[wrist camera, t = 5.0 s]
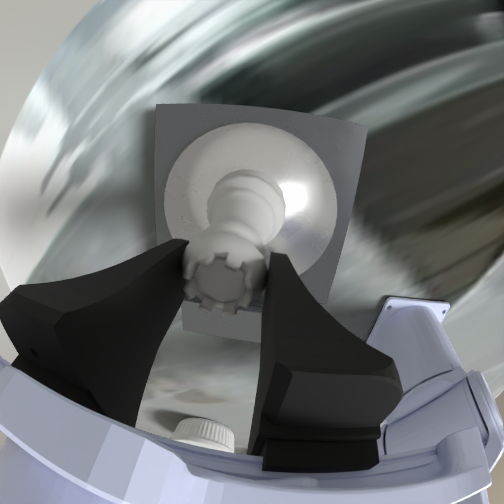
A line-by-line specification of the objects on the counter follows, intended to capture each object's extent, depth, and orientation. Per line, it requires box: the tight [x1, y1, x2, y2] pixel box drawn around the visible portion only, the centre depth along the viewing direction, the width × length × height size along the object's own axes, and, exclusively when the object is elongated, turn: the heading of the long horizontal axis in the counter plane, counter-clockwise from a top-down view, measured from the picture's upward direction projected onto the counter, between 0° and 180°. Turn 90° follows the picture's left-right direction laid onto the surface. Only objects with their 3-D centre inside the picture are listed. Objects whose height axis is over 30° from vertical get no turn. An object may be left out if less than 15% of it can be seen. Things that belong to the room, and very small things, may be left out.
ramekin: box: [169, 417, 234, 453], centre depth 37 cm, size 11×11×5 cm
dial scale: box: [154, 104, 368, 343], centre depth 19 cm, size 16×13×5 cm
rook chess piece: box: [181, 169, 287, 316], centre depth 12 cm, size 4×4×8 cm
